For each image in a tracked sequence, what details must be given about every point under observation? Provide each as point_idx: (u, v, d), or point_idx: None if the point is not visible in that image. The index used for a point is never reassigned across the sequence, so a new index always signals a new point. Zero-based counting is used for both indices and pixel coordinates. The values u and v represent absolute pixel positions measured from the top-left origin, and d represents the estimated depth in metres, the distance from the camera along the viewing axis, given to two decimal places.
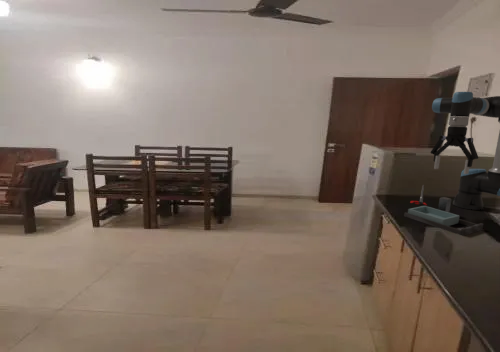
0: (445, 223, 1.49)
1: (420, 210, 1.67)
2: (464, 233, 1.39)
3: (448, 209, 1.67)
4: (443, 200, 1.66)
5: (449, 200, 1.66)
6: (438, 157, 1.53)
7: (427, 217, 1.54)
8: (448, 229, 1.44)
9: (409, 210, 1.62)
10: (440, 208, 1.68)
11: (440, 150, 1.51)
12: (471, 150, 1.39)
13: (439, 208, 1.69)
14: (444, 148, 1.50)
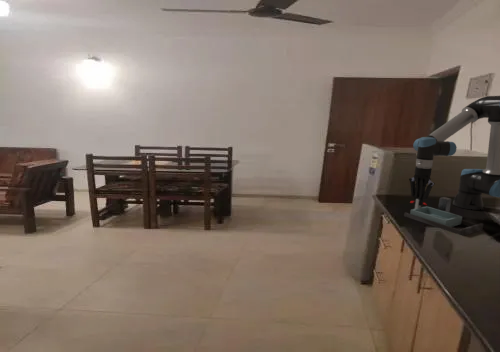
0: (448, 224, 1.48)
1: (422, 211, 1.66)
2: (464, 233, 1.39)
3: (448, 209, 1.67)
4: (443, 200, 1.66)
5: (449, 200, 1.66)
6: None
7: (430, 218, 1.53)
8: (448, 229, 1.44)
9: (411, 211, 1.61)
10: (440, 208, 1.68)
11: (416, 191, 1.64)
12: (425, 192, 1.60)
13: (439, 208, 1.69)
14: (418, 188, 1.64)
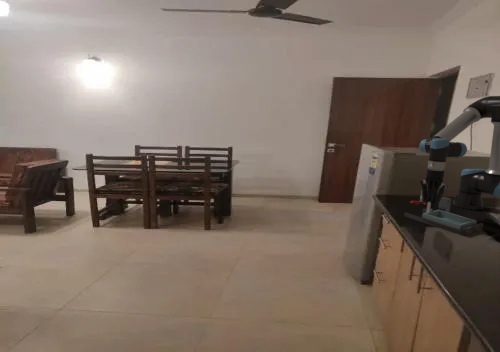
0: (462, 228, 1.43)
1: (434, 214, 1.60)
2: (464, 233, 1.39)
3: (448, 209, 1.67)
4: (443, 200, 1.66)
5: (449, 200, 1.66)
6: None
7: (443, 222, 1.48)
8: (448, 229, 1.44)
9: (423, 214, 1.56)
10: (440, 208, 1.68)
11: (428, 194, 1.59)
12: (438, 195, 1.54)
13: (439, 208, 1.69)
14: (430, 191, 1.59)
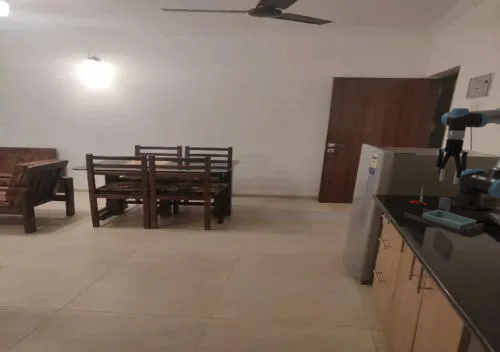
0: (462, 228, 1.42)
1: (434, 214, 1.60)
2: (464, 233, 1.39)
3: (448, 209, 1.67)
4: (443, 200, 1.66)
5: (449, 200, 1.66)
6: (443, 170, 1.67)
7: (443, 222, 1.48)
8: (448, 229, 1.44)
9: (423, 214, 1.56)
10: (440, 208, 1.68)
11: (443, 162, 1.65)
12: (462, 163, 1.57)
13: (439, 208, 1.69)
14: (446, 160, 1.65)
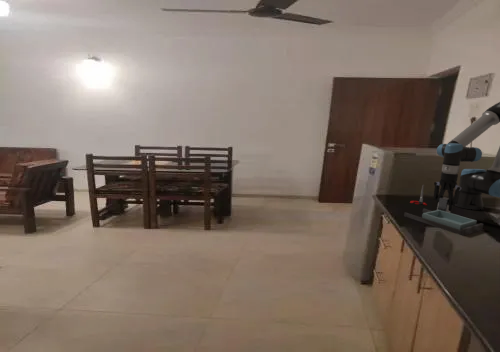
0: (462, 228, 1.42)
1: (434, 214, 1.60)
2: (464, 233, 1.39)
3: None
4: (443, 200, 1.66)
5: None
6: None
7: (443, 222, 1.48)
8: (448, 229, 1.44)
9: (423, 214, 1.56)
10: (440, 208, 1.68)
11: (440, 196, 1.68)
12: (455, 197, 1.62)
13: (439, 208, 1.69)
14: (442, 193, 1.68)
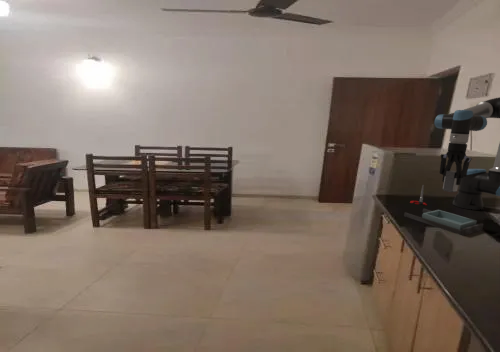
0: (462, 228, 1.42)
1: (434, 214, 1.60)
2: (464, 233, 1.39)
3: None
4: (450, 173, 1.51)
5: None
6: None
7: (443, 222, 1.48)
8: (448, 229, 1.44)
9: (423, 214, 1.56)
10: (447, 182, 1.53)
11: (447, 169, 1.54)
12: (463, 169, 1.47)
13: (445, 183, 1.54)
14: (449, 166, 1.53)
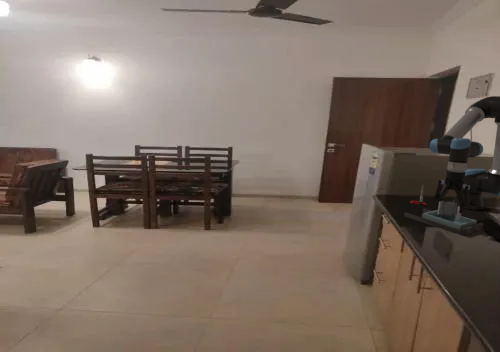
0: (462, 228, 1.42)
1: (434, 214, 1.60)
2: (464, 233, 1.39)
3: (454, 215, 1.51)
4: (448, 205, 1.50)
5: (455, 205, 1.49)
6: (441, 203, 1.54)
7: (443, 222, 1.48)
8: (448, 229, 1.44)
9: (423, 214, 1.56)
10: (445, 214, 1.51)
11: (442, 195, 1.53)
12: (465, 197, 1.44)
13: (443, 214, 1.52)
14: (445, 192, 1.52)
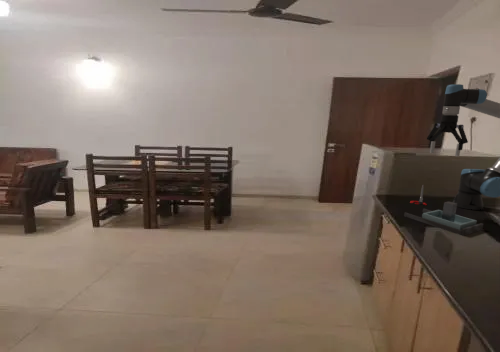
0: (462, 228, 1.42)
1: (434, 214, 1.60)
2: (464, 233, 1.39)
3: (454, 215, 1.51)
4: (448, 205, 1.50)
5: (455, 205, 1.49)
6: (433, 142, 1.73)
7: (443, 222, 1.48)
8: (448, 229, 1.44)
9: (423, 214, 1.56)
10: (445, 214, 1.51)
11: (435, 136, 1.71)
12: (461, 135, 1.59)
13: (443, 214, 1.52)
14: (438, 134, 1.70)
